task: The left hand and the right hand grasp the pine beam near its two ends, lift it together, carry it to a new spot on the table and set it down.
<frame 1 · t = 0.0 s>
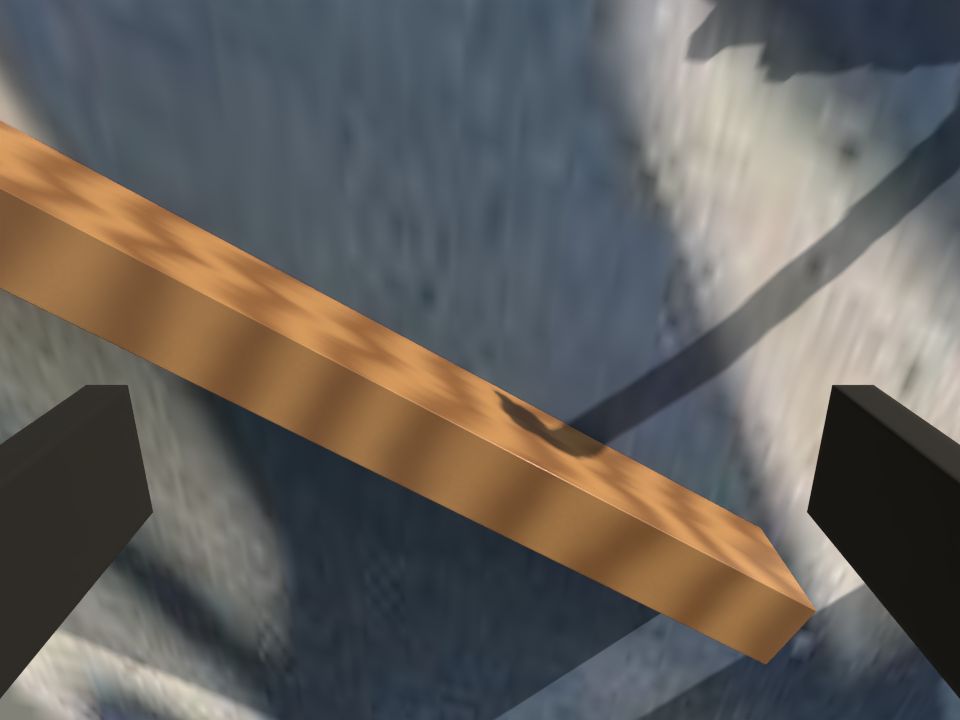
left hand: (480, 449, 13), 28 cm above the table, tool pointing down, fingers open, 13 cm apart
beam: (271, 306, 41), on the table
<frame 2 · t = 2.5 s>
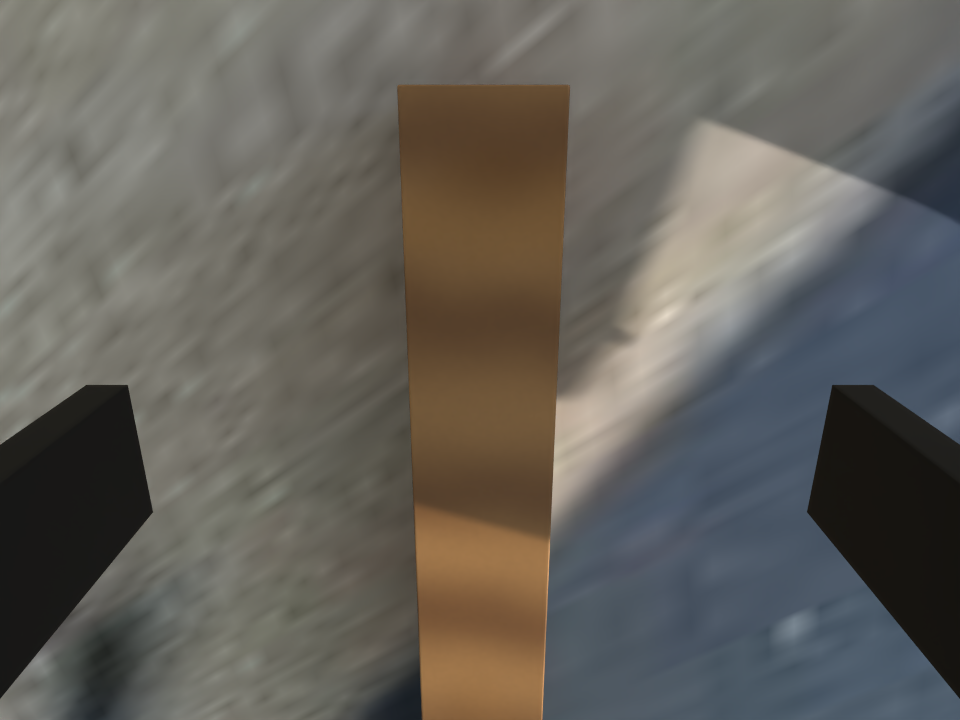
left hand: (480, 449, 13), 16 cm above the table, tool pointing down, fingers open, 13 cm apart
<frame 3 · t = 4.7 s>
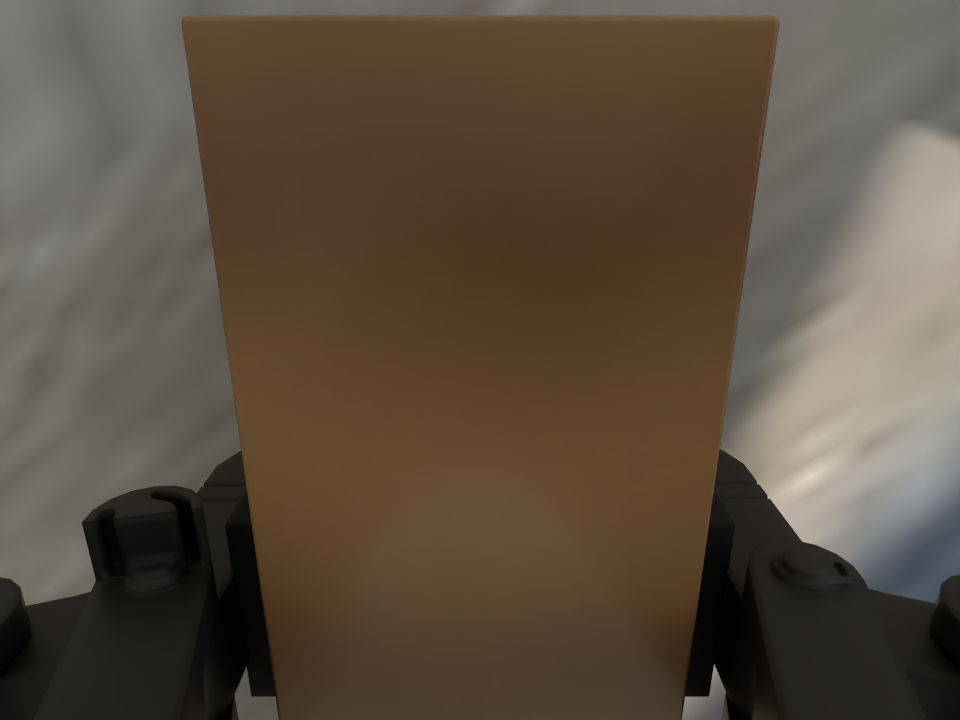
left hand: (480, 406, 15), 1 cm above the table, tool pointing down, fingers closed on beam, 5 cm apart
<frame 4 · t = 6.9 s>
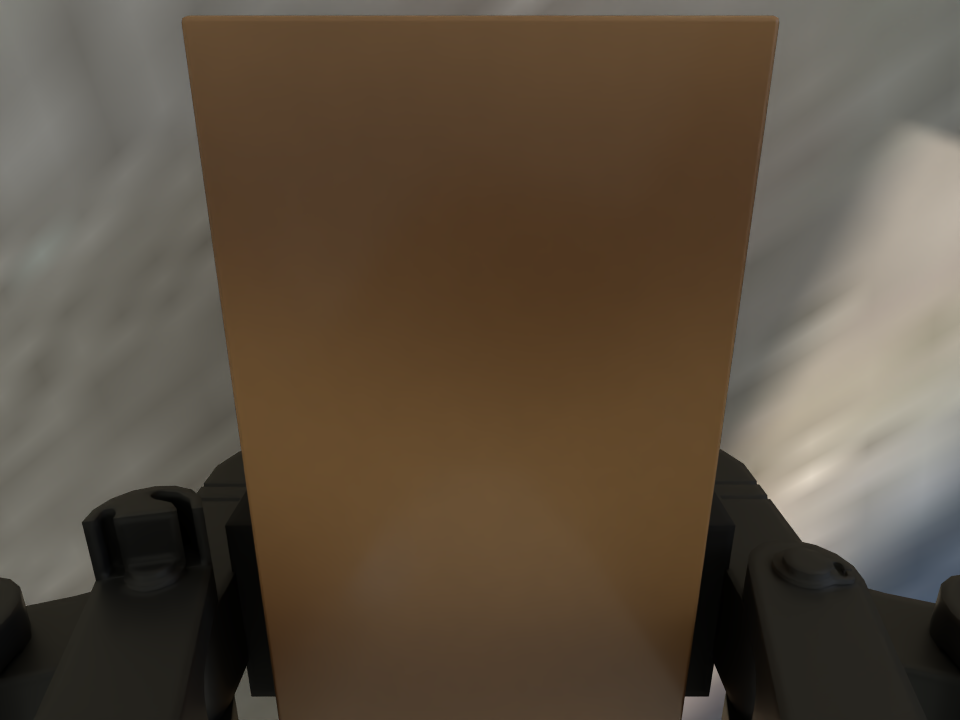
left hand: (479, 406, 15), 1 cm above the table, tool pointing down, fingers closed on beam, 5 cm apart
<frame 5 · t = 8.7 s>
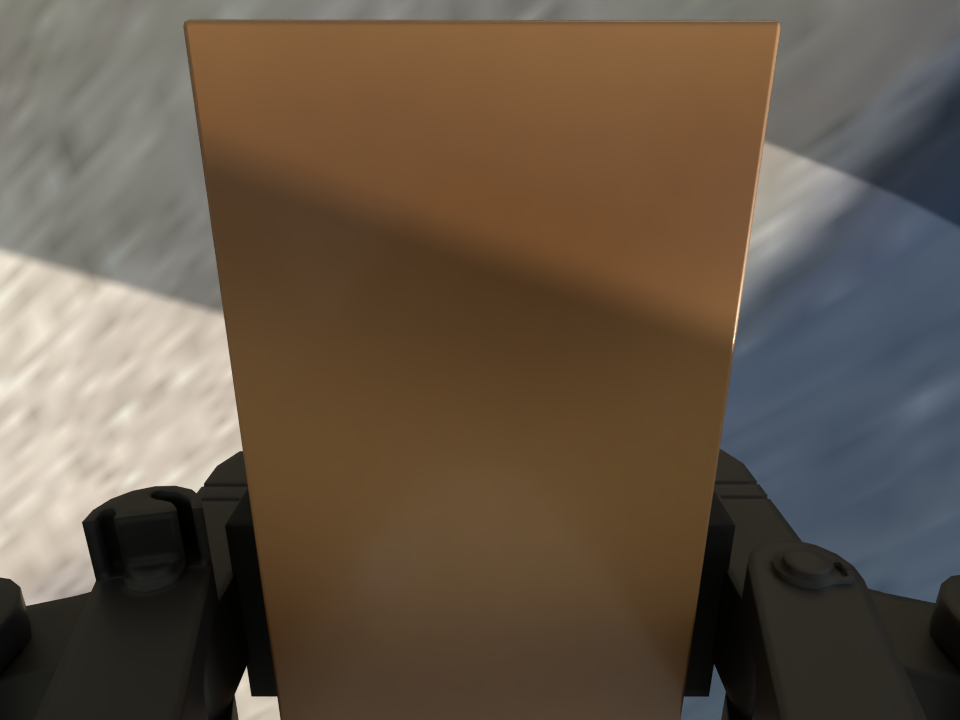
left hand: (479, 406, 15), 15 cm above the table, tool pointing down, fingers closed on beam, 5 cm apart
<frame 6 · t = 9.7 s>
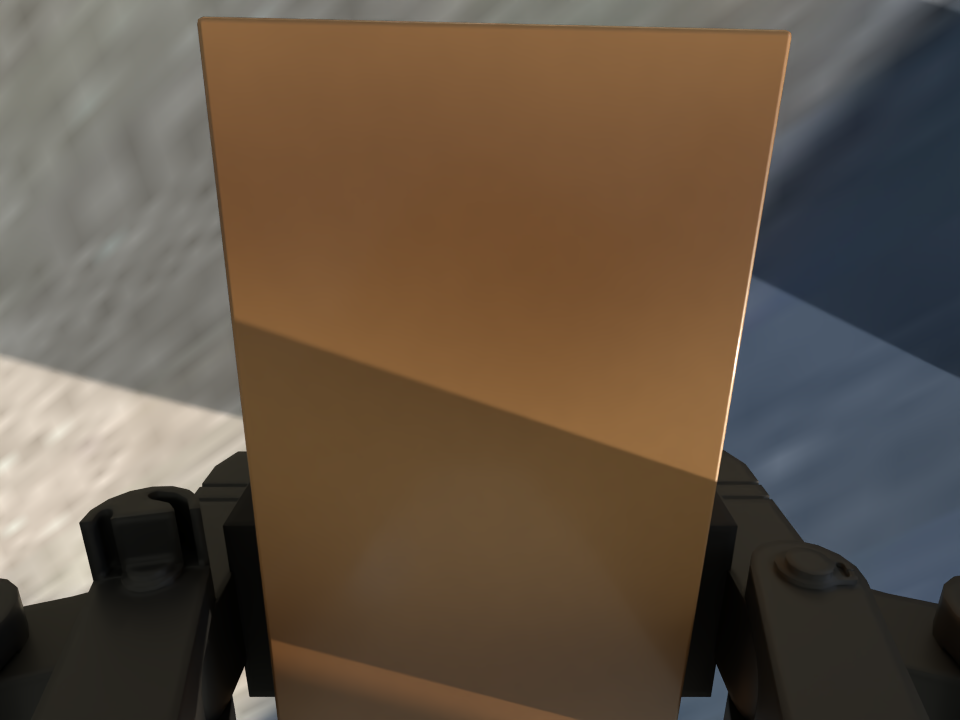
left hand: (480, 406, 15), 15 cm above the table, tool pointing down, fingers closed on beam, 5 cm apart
when the left hand's fingers open (2 cm above the table, at t = 12.8 s): beam drops 1 cm, on the table.
when the right hand's fingers open (2 cm above the table, at t = 12.8 s): beam drops 1 cm, on the table.
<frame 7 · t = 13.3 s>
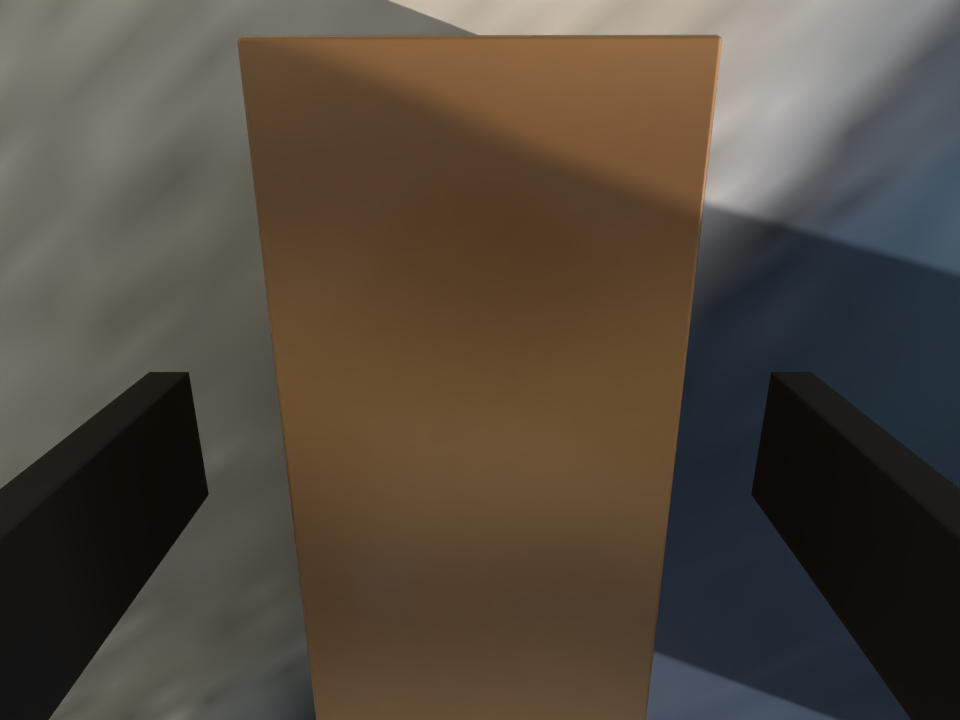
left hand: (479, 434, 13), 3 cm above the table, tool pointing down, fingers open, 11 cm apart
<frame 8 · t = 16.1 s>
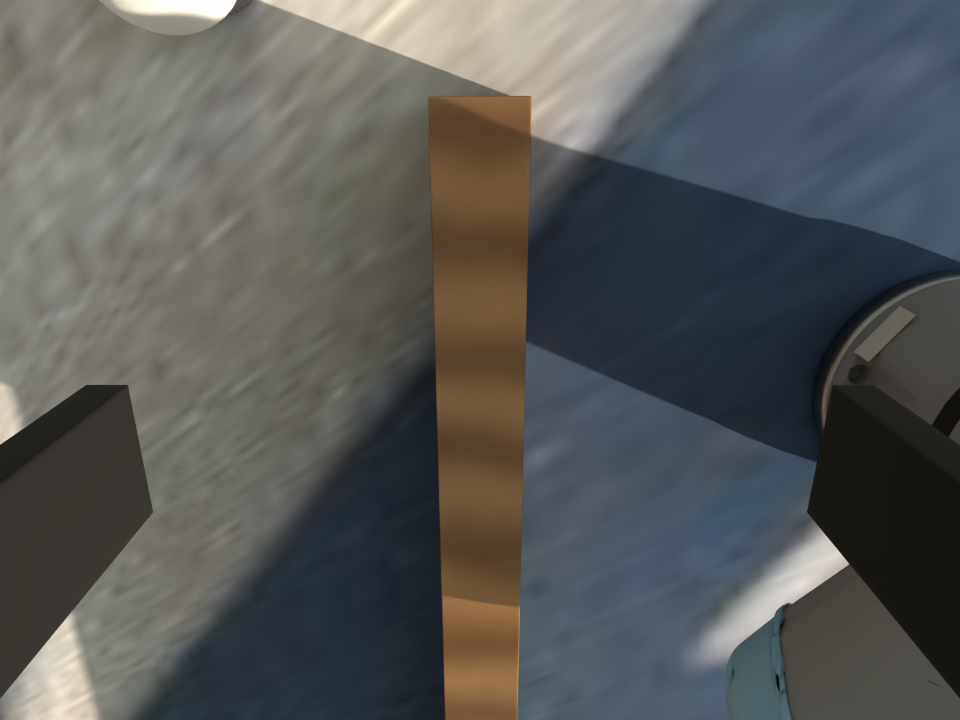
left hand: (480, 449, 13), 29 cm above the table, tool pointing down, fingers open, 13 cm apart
beam: (480, 611, 50), on the table
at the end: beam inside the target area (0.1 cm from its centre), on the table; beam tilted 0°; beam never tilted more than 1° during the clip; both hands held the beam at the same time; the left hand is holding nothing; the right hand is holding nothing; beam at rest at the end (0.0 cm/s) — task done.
